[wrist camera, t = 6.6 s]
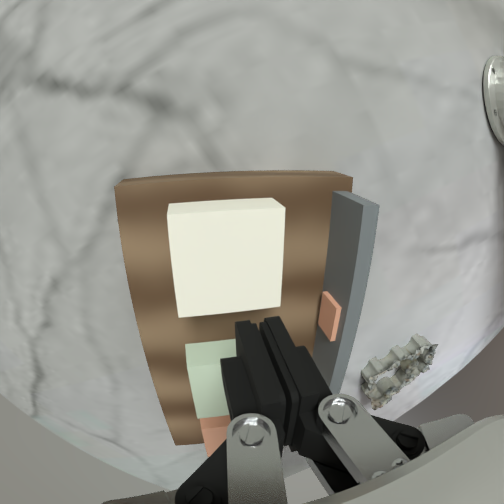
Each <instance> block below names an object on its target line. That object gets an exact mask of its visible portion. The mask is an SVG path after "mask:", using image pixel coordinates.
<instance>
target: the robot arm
mask: <svg viewBox="0 0 504 504" xmlns="http://www.w3.org/2000/svg"><path fill="white" fill-rule="evenodd" d="M483 91H484V100H485V106H486V111H487V115H488V119H489V122H490V125H491V128H492V130H493V132H494V134H495V136H496V137H497V139H498V141H499V142H500V143H501V144H502V145H504V57H503V56H493V57H491V58H490V59H489V60H488V61H487V63H486V66H485V70H484V77H483ZM235 340H236V357H229V358H221V359H220V365H221V374H222V381H223V387H224V392H225V397H226V401H227V406H228V410H229V415H230V419H231V422H230V424H229V425H228V427H227V432H226V436H227V439H226V440H225V441H224V442H223V443H222V444H221V445H220V446H219V447H218V448H217V449H216V450H215V452H214V453H213V454H212V455H211V456H210V457H209V458H208V459H207V460H206V461H205V462H204V463H203V464H202V465H201V466H200V467H199V468H198V469H197V470H196V471H195V472H194V473H193V474H192V475H191V476H190V477H189V478H188V479H187V480H186V481H185V482H184V483H183V484H182V485H181V486H180V487H179V489H176V490H172V491H168V492H165V491H164V490H163V491H159V492H154V493H150V494H145V495H139V496H134V497H129V498H121V499H114V500H109V501H106V502H103V503H102V504H288V502H287V497H286V490H285V484H284V477H283V470H282V464H281V457H282V450H283V445H284V446H287V445H289V447H290V450H291V452H294V451H298V453H299V455H301V456H304V457H306V460H307V463H308V464H309V466H310V467H311V469H312V470H313V472H314V473H315V475H316V476H317V478H318V480H319V481H320V482H321V484H322V486H323V487H324V488H325V490H326V491H327V493H328V494H329V496H327V497H324V498H321V499H318V500H314V501H311V502H307V503H304V504H504V415H497V416H492V417H489V418H486V419H483V420H481V421H479V422H477V423H474V421H473V420H472V419H471V418H470V417H468V416H467V415H465V414H456V415H453V416H450V417H446V418H443V419H440V420H436V421H432V422H429V423H425V424H421V425H419V427H418V428H414V427H412V426H409V425H405V424H401V423H396V422H393V421H390V420H386V419H382V418H379V417H375V416H372V415H370V414H369V413H368V412H367V411H366V410H365V408H364V407H363V406H362V405H361V404H360V403H359V402H358V401H357V400H356V399H355V398H353V397H351V396H349V395H345V394H334V395H333V394H332V392H331V390H330V389H329V387H328V385H327V383H326V382H325V380H324V378H323V376H322V375H321V373H320V371H319V369H318V367H317V366H316V364H315V362H314V360H313V359H312V357H311V355H310V353H309V351H308V350H307V348H306V347H305V346H304V345H302V346H297V347H296V346H295V344H294V343H293V341H292V339H291V337H290V335H289V333H288V331H287V329H286V327H285V325H284V323H283V322H282V320H281V318H280V316H274V317H267V318H264V322H260V323H259V329H258V327H257V324H256V323H251V322H250V320H245V321H237V322H235Z"/></svg>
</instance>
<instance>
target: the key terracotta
mask: <svg viewBox="0 0 504 504" xmlns="http://www.w3.org/2000/svg"><path fill="white" fill-rule="evenodd" d="M230 422H231V419H230V415H225V416H218V417H209V418H200V424H201V430H202V435H203V439H204V443H205V447H206V451H207V455H208V457H210V456H211V455H212V454H213V453H214V452H215V450H216V449H217V448H218V447H219V446H220V445H221V444H222V443H223V442H224V441H225V440H226V439H227V436H226V432H227V427H228V425H229V424H230Z"/></svg>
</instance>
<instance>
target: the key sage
mask: <svg viewBox="0 0 504 504" xmlns="http://www.w3.org/2000/svg"><path fill="white" fill-rule="evenodd" d="M185 349H186V362H187V370H188V375H189V380H190V385H191V390H192V395H193V400H194V405H195V409H196V414H197V418H198V419H199V418H209V417H218V416H225V415H229V410H228V406H227V401H226V397H225V392H224V387H223V381H222V374H221V365H220V359H221V358H229V357H236V340H235V339H229V340H220V341H211V342H201V343H191V344H185Z"/></svg>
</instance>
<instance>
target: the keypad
mask: <svg viewBox="0 0 504 504" xmlns="http://www.w3.org/2000/svg"><path fill="white" fill-rule="evenodd" d="M352 183H353V177H350V176H347V175H344V174H341V173H338V172H334V171H232V172H209V173H191V174H177V175H164V176H152V177H142V178H132V179H123V180H122V181H121V182H120V183H118V184H117V185H116V186H115V187H114V189H115V198H116V207H117V216H118V224H119V231H120V238H121V244H122V251H123V257H124V263H125V268H126V274H127V279H128V284H129V289H130V294H131V299H132V303H133V308H134V312H135V317H136V321H137V325H138V329H139V333H140V337H141V341H142V345H143V348H144V352H145V356H146V359H147V363H148V366H149V370H150V373H151V376H152V380H153V383H154V386H155V389H156V392H157V395H158V398H159V401H160V404H161V407H162V410H163V413H164V416H165V419H166V422H167V424H168V427H169V430H170V432H171V435H172V438H173V440H174V443H175V445H189V444H200V443H204V439H203V435H202V430H201V424H200V418H199V419H198V418H197V414H196V409H195V405H194V400H193V395H192V390H191V385H190V380H189V375H188V370H187V362H186V349H185V344H191V343H201V342H211V341H220V340H229V339H235V322H237V321H245V320H250V322H251V323H256V324H257V327H258V329H259V323H260V322H264V318H267V317H274V316H280V318H281V320H282V322H283V323H284V325H285V327H286V329H287V331H288V333H289V335H290V337H291V339H292V341H293V343H294V344H295V346H296V347H297V346H302V345H304V346H305V347H306V348H307V350H308V351H309V353H310V355H311V357H312V359H313V360H314V362H315V364H316V366H317V367H318V369H319V371H320V373H321V375H322V376H323V378H324V380H325V382H326V383H327V385H328V387H329V389H330V390H331V392H332V394H333V395H334V394H339V392H340V389H341V386H342V382H343V379H344V376H345V372H346V369H347V365H348V362H349V358H350V355H351V351H352V347H353V343H354V339H355V335H356V331H357V327H358V323H359V319H360V315H361V310H362V306H363V301H364V296H365V291H366V287H367V281H368V276H369V271H370V265H371V260H372V254H373V248H374V241H375V235H376V228H377V220H378V213H379V205H378V204H376V203H374V202H371V201H369V200H367V199H365V198H362V197H360V196H358V195H355V194H353V193H352ZM252 198H273V199H275V200H276V201H277V202H279V203H280V204H281V205H283V206H284V207H285V229H284V251H283V270H282V287H281V303H280V307H273V308H265V309H257V310H249V311H240V312H231V313H222V314H213V315H203V316H192V317H181V318H179V317H178V310H177V303H176V295H175V288H174V280H173V272H172V263H171V254H170V244H169V234H168V223H167V211H168V206H169V204H171V203H184V202H198V201H214V200H231V199H252Z"/></svg>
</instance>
